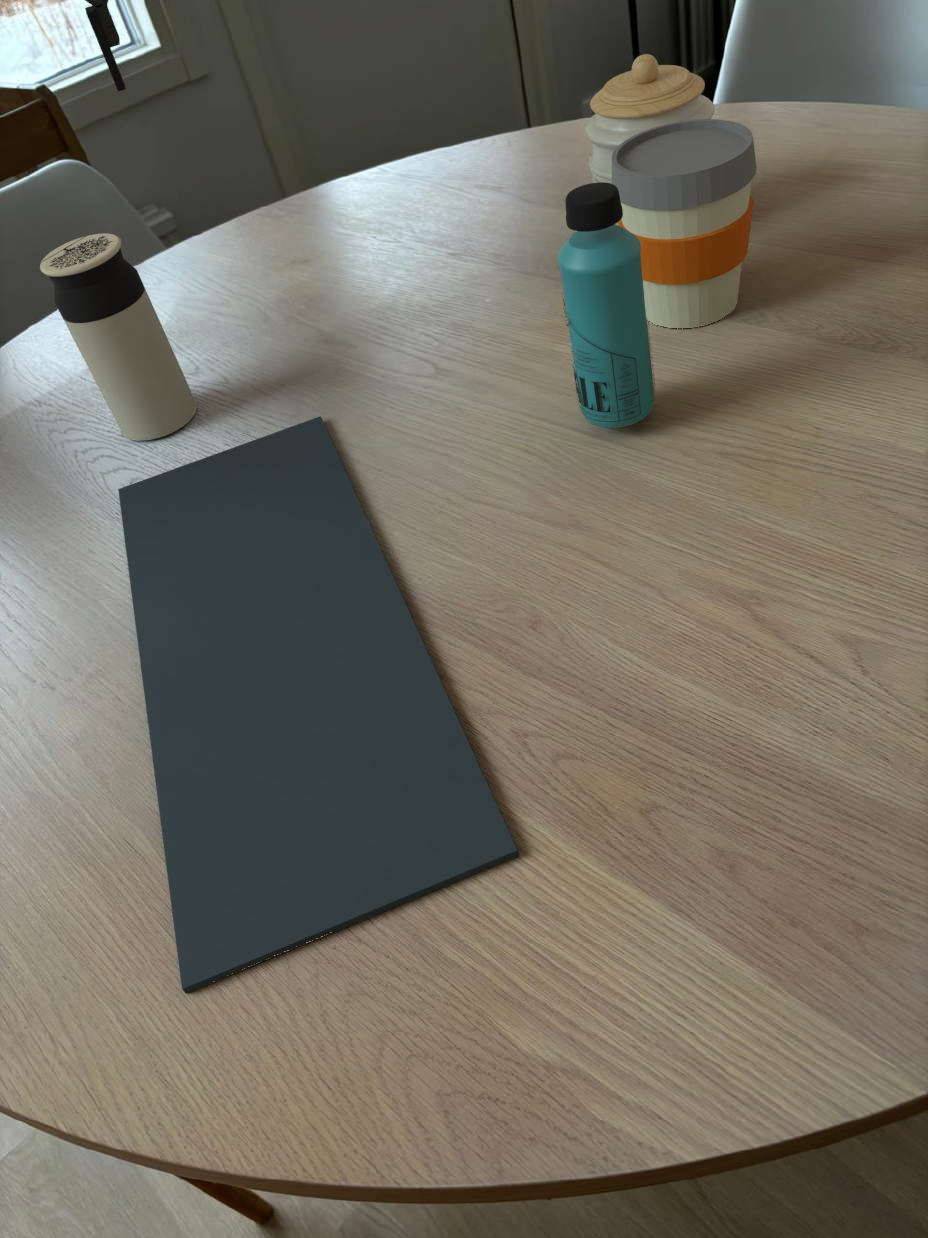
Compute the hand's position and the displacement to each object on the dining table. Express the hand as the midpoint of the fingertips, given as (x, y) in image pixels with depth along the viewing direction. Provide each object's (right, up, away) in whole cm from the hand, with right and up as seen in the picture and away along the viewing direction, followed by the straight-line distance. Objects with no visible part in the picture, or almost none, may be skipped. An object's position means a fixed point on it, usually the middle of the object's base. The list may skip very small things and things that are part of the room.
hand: (50, 109), depth 94 cm
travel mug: (+8, -27, +9) cm, 30 cm away
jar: (+59, -5, +17) cm, 62 cm away
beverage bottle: (+52, -31, -8) cm, 60 cm away
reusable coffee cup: (+60, -17, +4) cm, 63 cm away
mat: (+24, -48, -18) cm, 57 cm away
